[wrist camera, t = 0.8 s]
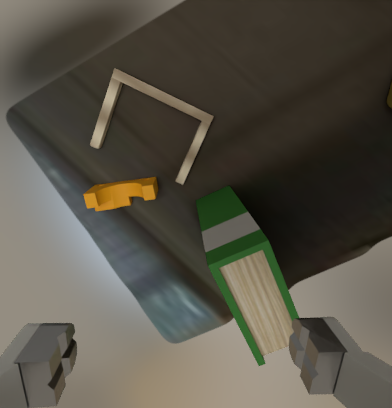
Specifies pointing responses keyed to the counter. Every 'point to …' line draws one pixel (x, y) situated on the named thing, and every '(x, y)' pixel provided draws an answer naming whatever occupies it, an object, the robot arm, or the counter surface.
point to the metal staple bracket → (122, 77)
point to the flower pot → (390, 97)
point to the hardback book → (246, 272)
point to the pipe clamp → (120, 193)
